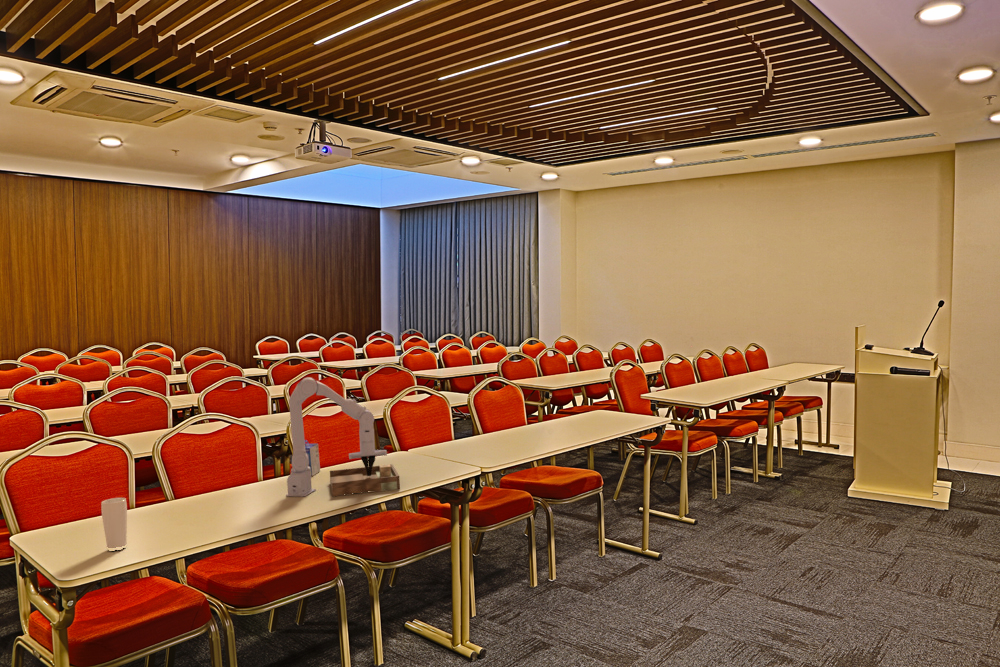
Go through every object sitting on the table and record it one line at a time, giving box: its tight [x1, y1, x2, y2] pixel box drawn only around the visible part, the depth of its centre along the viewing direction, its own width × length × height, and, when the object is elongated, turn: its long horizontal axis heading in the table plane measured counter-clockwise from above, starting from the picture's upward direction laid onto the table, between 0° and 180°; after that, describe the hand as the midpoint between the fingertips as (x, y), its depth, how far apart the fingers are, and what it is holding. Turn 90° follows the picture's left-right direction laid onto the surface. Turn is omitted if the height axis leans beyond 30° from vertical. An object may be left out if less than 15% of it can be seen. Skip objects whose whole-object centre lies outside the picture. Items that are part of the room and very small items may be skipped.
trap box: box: [329, 463, 401, 497], centre depth 283 cm, size 25×22×5 cm
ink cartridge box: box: [304, 439, 321, 477], centre depth 308 cm, size 10×6×14 cm, turn 174°
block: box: [378, 464, 391, 477], centre depth 285 cm, size 4×4×4 cm
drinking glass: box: [100, 497, 128, 548], centre depth 219 cm, size 7×7×15 cm
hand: (369, 475), depth 283 cm, fingers closed
